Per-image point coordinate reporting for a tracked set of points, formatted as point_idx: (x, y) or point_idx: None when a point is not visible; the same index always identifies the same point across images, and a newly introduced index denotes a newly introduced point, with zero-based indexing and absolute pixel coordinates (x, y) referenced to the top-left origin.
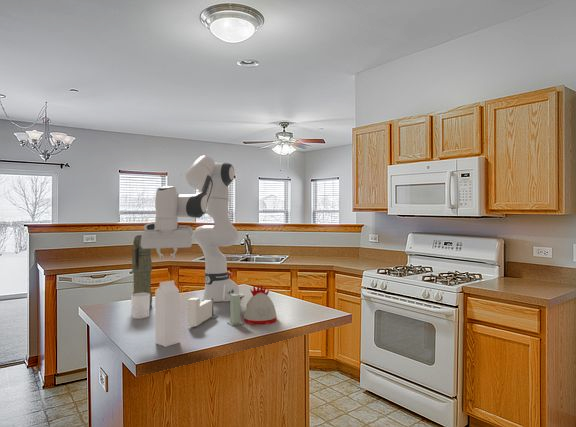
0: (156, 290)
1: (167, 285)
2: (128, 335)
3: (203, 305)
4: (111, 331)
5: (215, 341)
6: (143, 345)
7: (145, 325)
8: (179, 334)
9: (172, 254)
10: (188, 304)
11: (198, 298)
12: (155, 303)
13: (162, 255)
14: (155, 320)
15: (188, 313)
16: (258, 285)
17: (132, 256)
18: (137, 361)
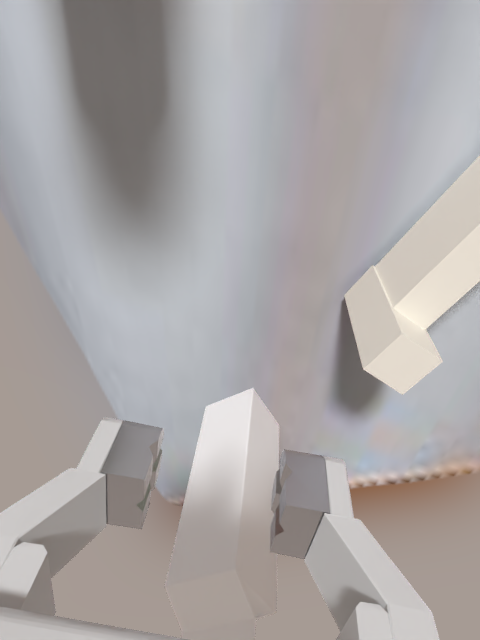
0: (170, 595)
1: (219, 626)
2: (101, 289)
3: (466, 288)
4: (14, 202)
5: (387, 453)
6: (169, 406)
7: (154, 158)
8: (278, 445)
9: (307, 539)
10: (361, 353)
11: (431, 368)
12: (179, 528)
13: (135, 520)
14: (192, 467)
15: (354, 326)
16: None
17: None
18: (164, 495)
